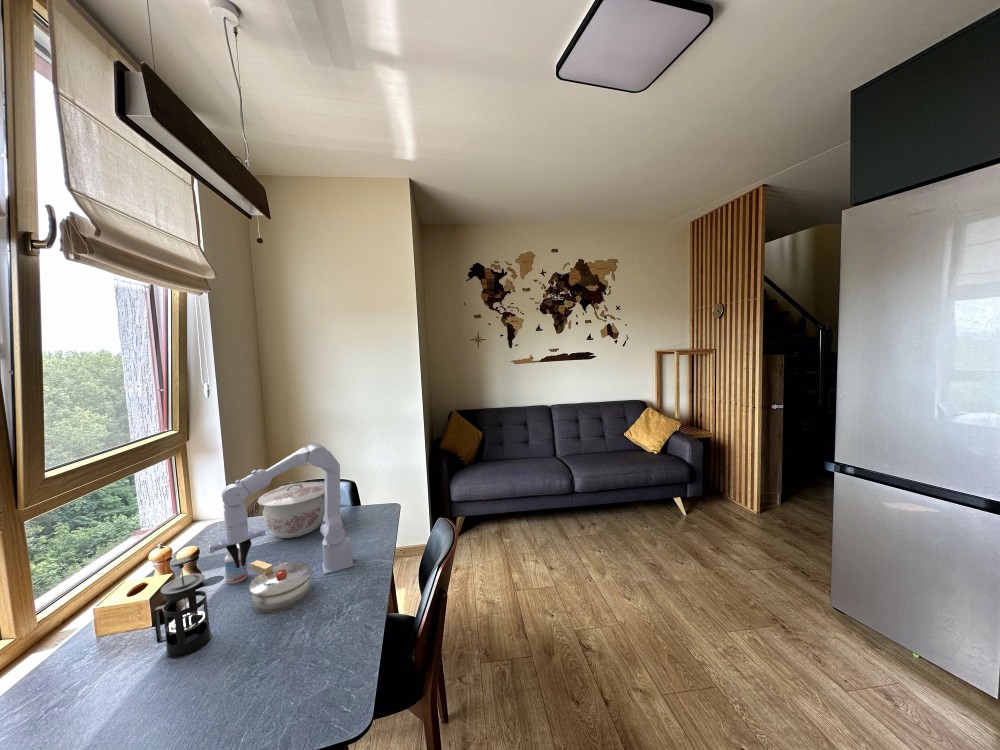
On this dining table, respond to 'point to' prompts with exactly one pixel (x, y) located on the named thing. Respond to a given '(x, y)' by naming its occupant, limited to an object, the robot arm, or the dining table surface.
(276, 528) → the chamber pot
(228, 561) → the pill bottle
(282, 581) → the cooker lid
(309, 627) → the dining table surface
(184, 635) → the french press
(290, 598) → the white oval dish
